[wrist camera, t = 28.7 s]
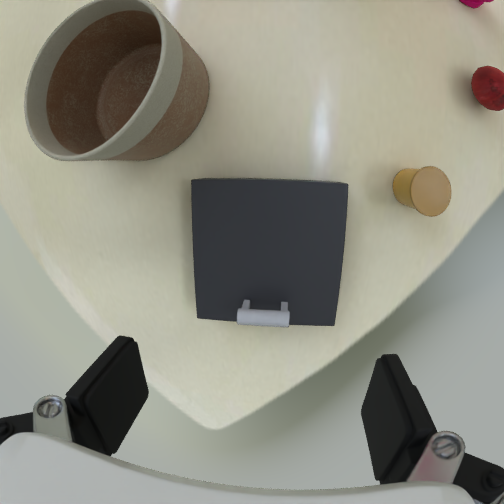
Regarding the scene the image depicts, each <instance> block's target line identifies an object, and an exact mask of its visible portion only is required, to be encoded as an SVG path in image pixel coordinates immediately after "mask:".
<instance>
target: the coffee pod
mask: <svg viewBox="0 0 504 504" xmlns="http://www.w3.org/2000/svg"><path fill="white" fill-rule="evenodd" d="M393 192H394V195H395V197H396V199H397V200H398V201H399V202H400V203H401V204H403V205H406V206H409V207H412V208H415V209H416V210H417V211H418V212H420V213H421V214H423V215H426V216H431V217H432V216H437V215H439V214H441V213H442V212H443V211H444V210H445V209H446V208H447V206H448V205H449V202H450V199H451V185H450V182H449V180H448V178H447V176H446V175H445V173H444V172H443V171H441V170H440V169H438V168H436V167H431V166H428V167H423V168H421V169H404V170H402V171H400V172H399V173H398V174H397V175H396V177H395V179H394V182H393Z"/></svg>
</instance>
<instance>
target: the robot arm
mask: <svg viewBox="0 0 504 504" xmlns="http://www.w3.org/2000/svg"><path fill="white" fill-rule="evenodd" d="M148 393H149V391H148V387H147V383H146V379H145V375H144V370H143V366H142V362H141V357H140V353H139V348H138V344H137V342H134V339H133V338H131V337H126V336H118V337H117V338H116V339H115V340H114V341H113V342H112V343H111V344H110V345H109V347H108V348H107V349H106V350H105V351H104V352H103V353H102V354H101V355H100V356H99V357H98V359H97V360H96V361H95V362H94V363H93V364H92V365H91V366H90V367H89V368H88V370H87V371H86V372H85V373H84V374H83V375H82V376H81V377H80V378H79V380H78V381H77V382H76V383H75V384H74V385H73V386H72V387H71V389H70V390H69V391H68V392H67V393H66V396H67V397H66V398H65V399H62V398H61V397H59V396H56V395H48V396H44V397H42V398H40V399H39V400H38V401H37V402H36V403H35V405H34V408H33V412H31V413H26V414H21V415H15V416H9V417H4V418H0V504H504V469H503V468H502V467H500V466H498V465H495V464H492V463H490V462H487V461H485V460H482V459H480V458H477V457H475V456H472V455H470V454H467V453H465V443H464V441H463V439H462V438H461V437H460V436H459V435H457V434H456V433H454V432H450V431H441V432H437V430H436V427H435V425H434V423H433V421H432V419H431V416H430V414H429V412H428V410H427V408H426V406H425V404H424V401H423V399H422V397H421V395H420V393H419V391H418V389H417V388H416V386H415V385H413V384H412V382H411V380H410V378H409V376H408V374H407V372H406V370H405V368H404V366H403V365H402V362H401V360H400V358H399V357H398V355H397V354H384V355H382V356H381V358H378V359H377V360H376V364H375V367H374V371H373V374H372V377H371V381H370V384H369V387H368V390H367V393H366V396H365V400H364V402H363V405H362V409H361V416H362V420H363V424H364V429H365V433H366V437H367V442H368V447H369V451H370V456H371V461H372V466H373V471H374V476H375V479H376V480H379V481H380V485H374V486H365V487H355V488H341V489H323V490H322V489H320V490H284V489H283V490H282V489H264V488H250V487H241V486H232V485H225V484H218V483H211V482H206V481H200V480H195V479H189V478H184V477H180V476H176V475H171V474H167V473H163V472H159V471H155V470H152V469H148V468H144V467H141V466H137V465H134V464H131V463H128V462H125V461H122V460H119V459H116V458H113V457H110V456H111V455H112V453H113V454H114V453H116V452H117V450H118V448H119V447H120V445H121V443H122V441H123V440H124V438H125V436H126V434H127V433H128V431H129V429H130V427H131V426H132V424H133V422H134V420H135V419H136V417H137V415H138V413H139V412H140V410H141V408H142V407H143V405H144V403H145V401H146V400H147V398H148Z"/></svg>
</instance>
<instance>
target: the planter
mask: <svg viewBox="0 0 504 504" xmlns="http://www.w3.org/2000/svg"><path fill="white" fill-rule="evenodd" d="M208 96H209V79H208V74H207V70H206V68H205V65H204V63H203V62H202V60H201V59H200V57H199V56H198V55H197V53H196V52H195V51H194V50H193V49H192V48H191V46H190V45H189V44H188V43H187V42H186V41H185V39H184V38H183V37H182V36H181V35H180V34H179V32H178V31H177V30H176V29H175V28H174V27H173V26H172V25H171V23H170V22H169V21H168V20H167V19H166V18H165V17H164V16H163V15H162V14H161V12H160V11H159V10H158V9H157V8H156V7H155V6H154V5H153V4H152V3H150V2H149V1H147V0H94V1H92V2H90V3H88V4H86V5H84V6H83V7H81V8H79V9H78V10H76V11H75V12H74V13H72V14H71V15H70V16H68V17H67V18H66V19H65V20H64V21H63V22H62V23H61V24H60V25H59V26H58V27H57V28H56V29H55V30H54V31H53V33H52V34H51V35H50V36H49V38H48V39H47V40H46V42H45V43H44V45H43V46H42V48H41V50H40V51H39V53H38V55H37V57H36V59H35V61H34V64H33V66H32V68H31V71H30V74H29V78H28V81H27V86H26V91H25V102H24V110H25V119H26V124H27V128H28V131H29V133H30V136H31V138H32V140H33V141H34V143H35V144H36V146H37V147H38V148H39V149H40V150H41V151H42V152H43V153H45V154H46V155H48V156H49V157H51V158H54V159H57V160H61V161H90V160H149V159H154V158H157V157H160V156H163V155H165V154H167V153H169V152H170V151H172V150H174V149H175V148H177V147H178V146H179V145H180V144H182V143H183V142H184V141H185V140H186V139H187V138H188V137H189V136H190V135H191V133H192V132H193V131H194V130H195V128H196V127H197V125H198V124H199V122H200V120H201V118H202V116H203V114H204V111H205V109H206V106H207V102H208Z"/></svg>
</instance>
